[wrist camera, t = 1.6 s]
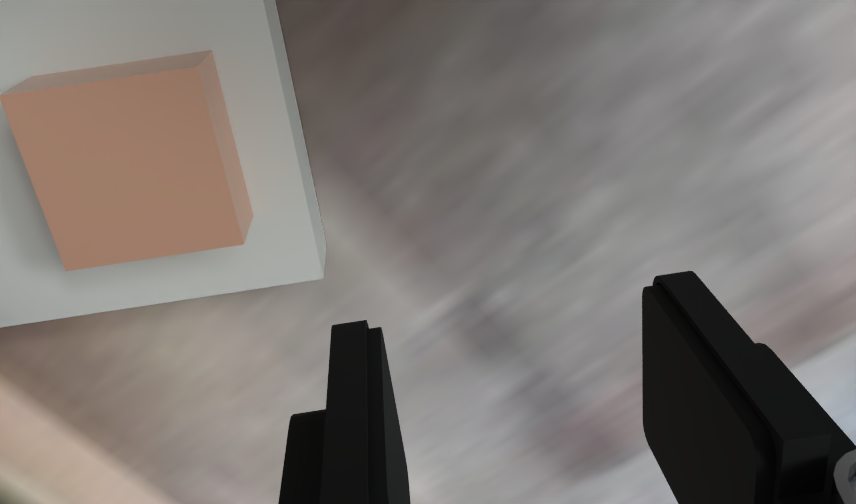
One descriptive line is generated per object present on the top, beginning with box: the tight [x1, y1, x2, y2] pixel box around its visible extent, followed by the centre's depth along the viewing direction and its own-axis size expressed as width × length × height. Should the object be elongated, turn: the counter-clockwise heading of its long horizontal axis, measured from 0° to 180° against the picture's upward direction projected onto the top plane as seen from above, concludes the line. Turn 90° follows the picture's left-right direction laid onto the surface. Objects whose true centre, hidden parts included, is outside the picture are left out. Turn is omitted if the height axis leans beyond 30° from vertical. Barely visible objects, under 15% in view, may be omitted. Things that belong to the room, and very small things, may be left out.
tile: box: [0, 50, 253, 271], centre depth 25 cm, size 6×6×2 cm
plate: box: [0, 0, 327, 328], centre depth 28 cm, size 12×12×3 cm
